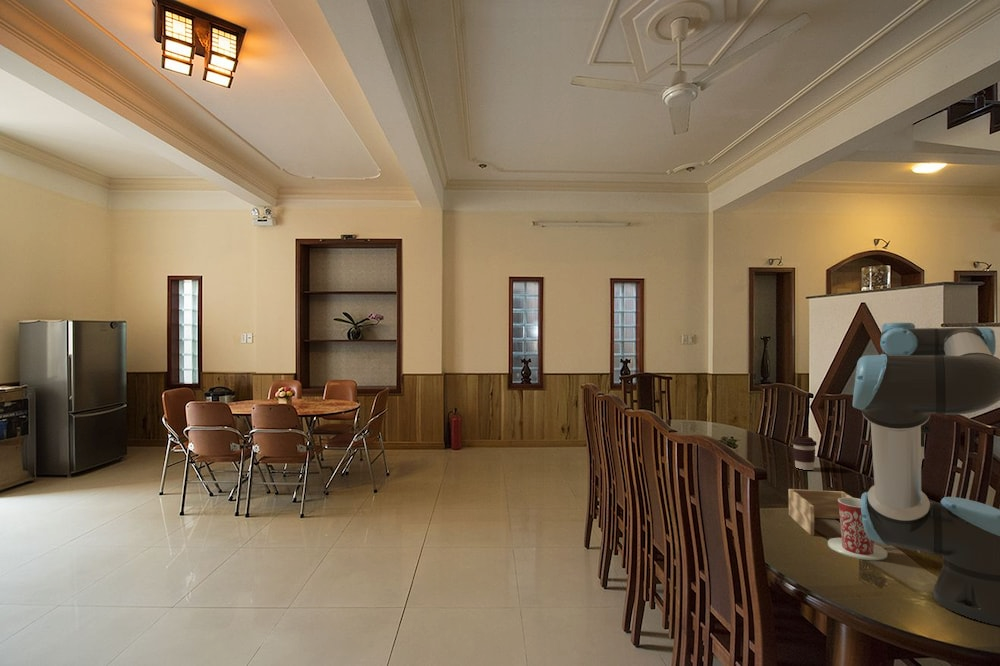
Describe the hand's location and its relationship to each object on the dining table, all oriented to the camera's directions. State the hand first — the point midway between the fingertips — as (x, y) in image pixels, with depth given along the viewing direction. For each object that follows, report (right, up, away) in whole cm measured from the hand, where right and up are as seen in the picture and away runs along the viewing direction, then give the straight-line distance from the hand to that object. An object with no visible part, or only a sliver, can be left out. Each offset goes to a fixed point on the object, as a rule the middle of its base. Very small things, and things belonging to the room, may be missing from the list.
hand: (900, 453), depth 140 cm
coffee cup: (+30, -31, +94) cm, 103 cm away
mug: (-9, -28, +3) cm, 30 cm away
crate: (-6, -29, +22) cm, 37 cm away
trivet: (-10, -29, +4) cm, 31 cm away
